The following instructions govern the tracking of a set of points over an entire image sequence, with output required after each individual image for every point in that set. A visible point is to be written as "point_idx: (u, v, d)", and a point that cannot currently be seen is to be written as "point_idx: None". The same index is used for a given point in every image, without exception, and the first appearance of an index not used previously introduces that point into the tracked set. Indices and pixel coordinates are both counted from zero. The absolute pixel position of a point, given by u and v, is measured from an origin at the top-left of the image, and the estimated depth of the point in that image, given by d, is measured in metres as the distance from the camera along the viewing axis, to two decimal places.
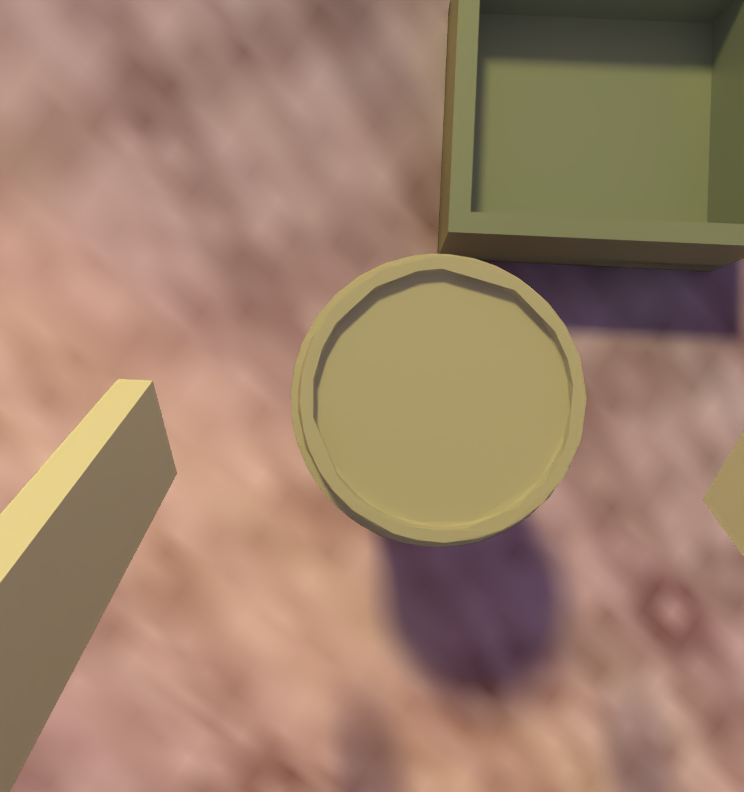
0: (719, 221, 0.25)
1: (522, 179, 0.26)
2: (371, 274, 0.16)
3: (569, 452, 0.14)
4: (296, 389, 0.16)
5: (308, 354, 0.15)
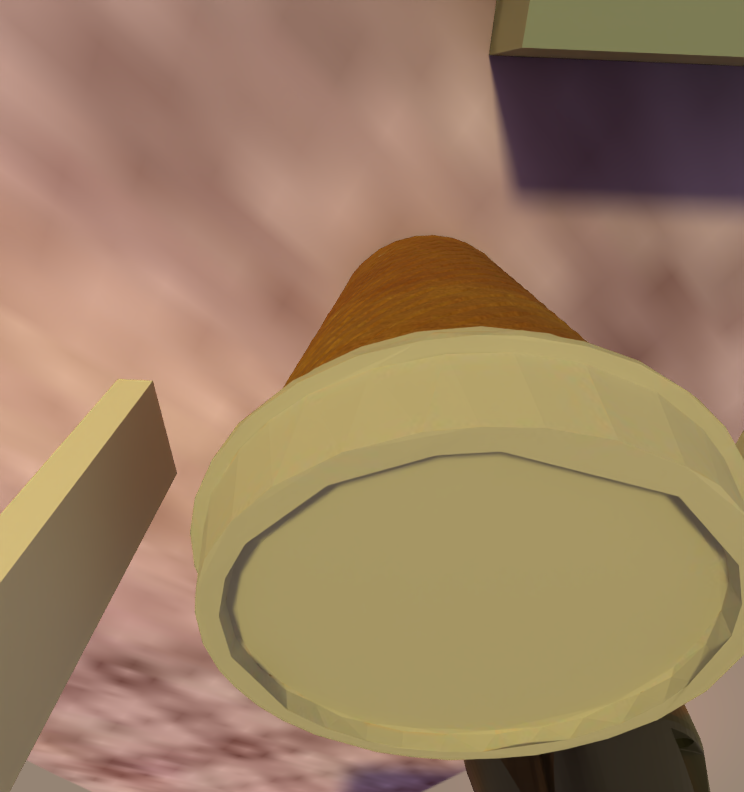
0: None
1: None
2: (325, 378, 0.07)
3: (679, 701, 0.08)
4: None
5: (199, 583, 0.07)
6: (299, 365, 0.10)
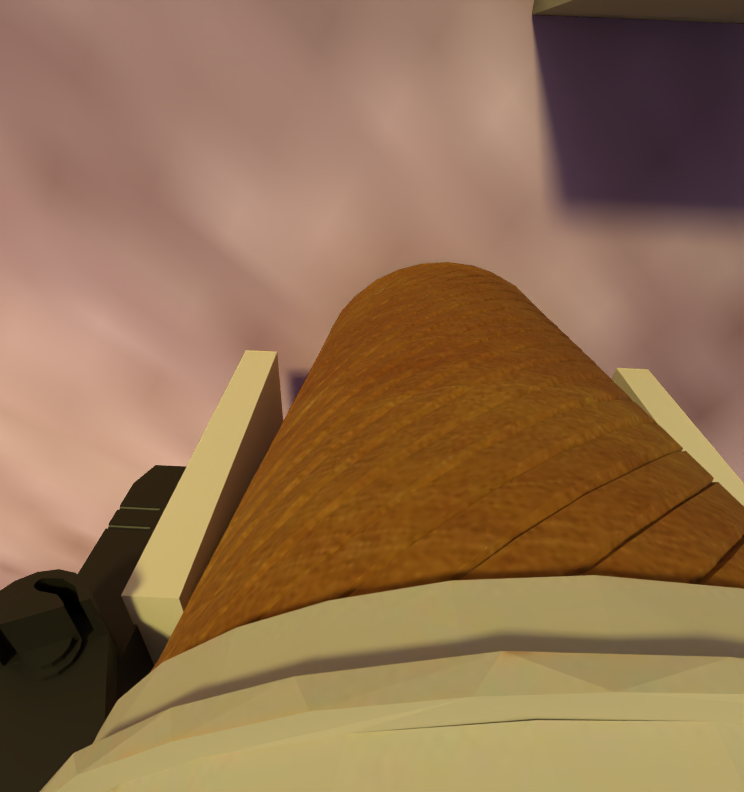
0: None
1: None
2: (236, 733, 0.03)
3: None
4: None
5: None
6: (243, 511, 0.06)
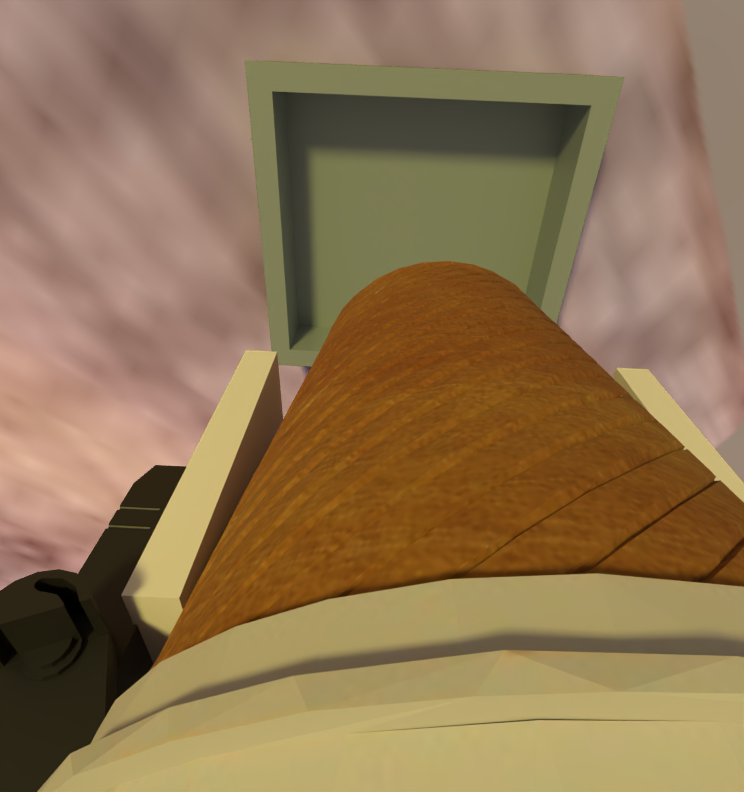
0: None
1: (352, 278, 0.27)
2: (235, 734, 0.03)
3: None
4: None
5: None
6: (243, 510, 0.06)
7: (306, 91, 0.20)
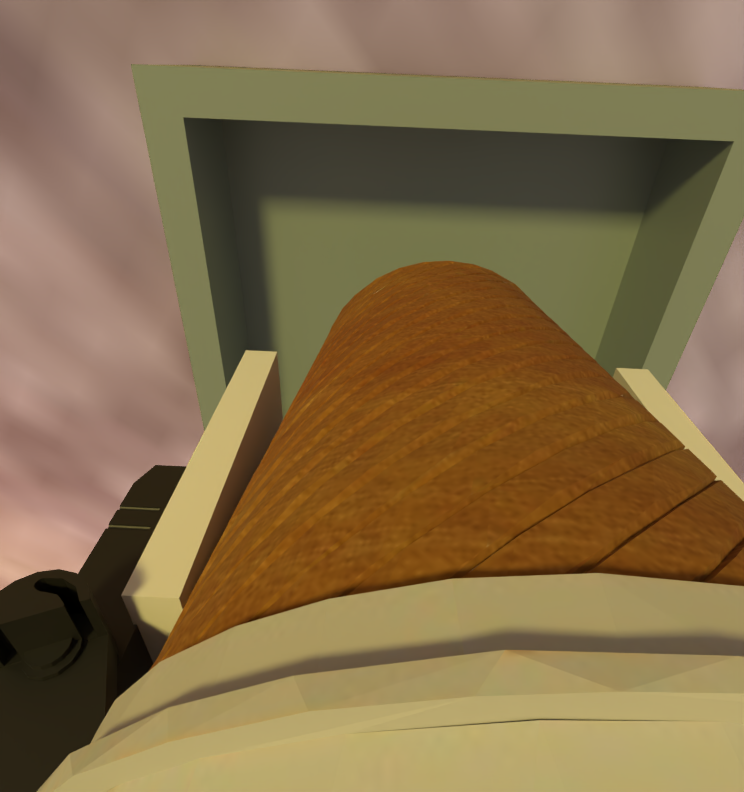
0: None
1: None
2: (234, 734, 0.03)
3: None
4: None
5: None
6: (242, 510, 0.06)
7: (242, 117, 0.11)
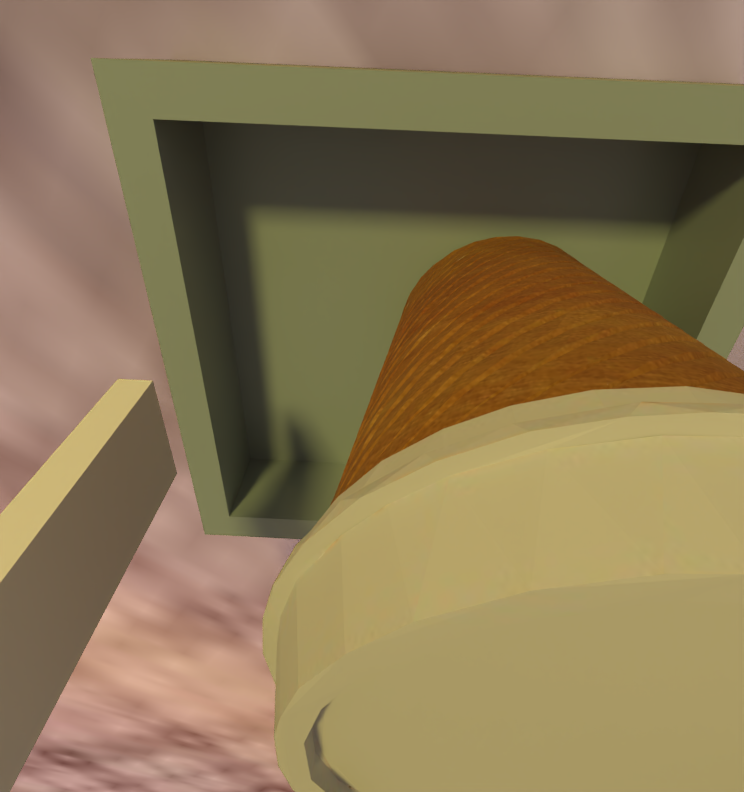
0: None
1: (329, 398, 0.17)
2: (475, 457, 0.05)
3: None
4: (274, 646, 0.07)
5: (285, 710, 0.05)
6: (389, 402, 0.08)
7: (220, 119, 0.10)
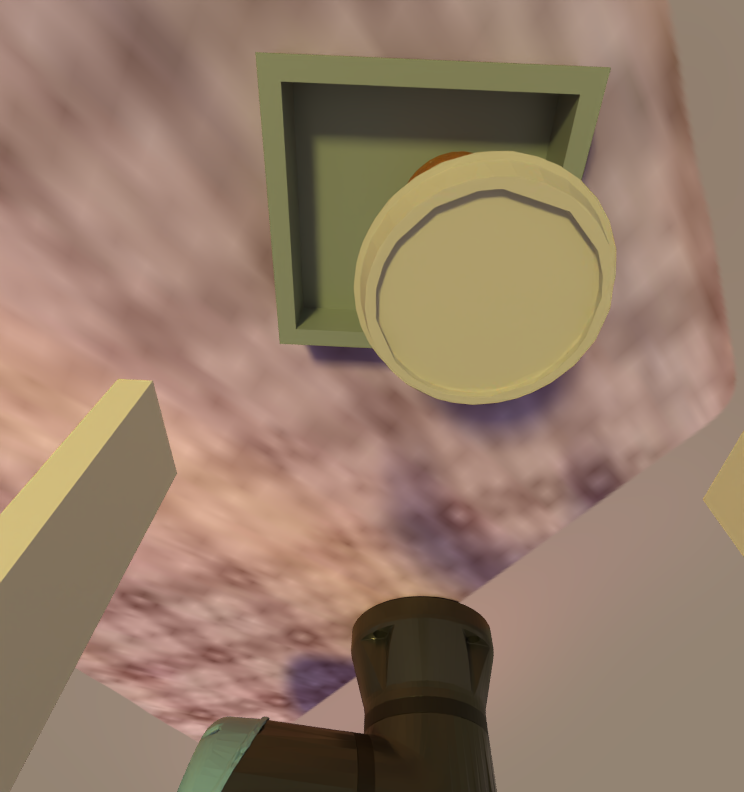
0: None
1: (355, 261, 0.29)
2: (430, 173, 0.16)
3: (583, 348, 0.18)
4: (358, 282, 0.18)
5: (371, 268, 0.17)
6: None
7: (313, 81, 0.21)
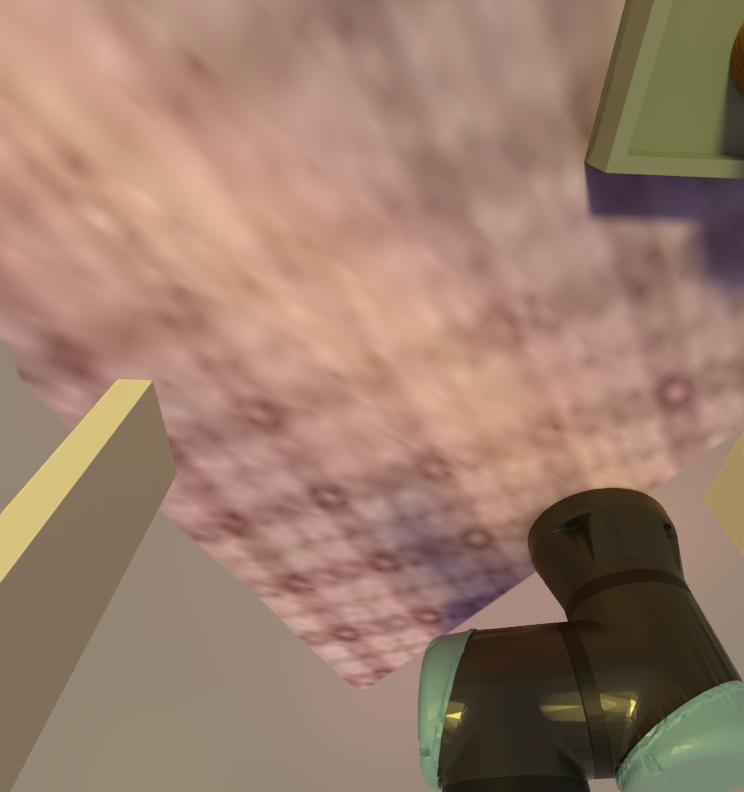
0: None
1: (675, 95, 0.30)
2: None
3: None
4: None
5: None
6: None
7: None
